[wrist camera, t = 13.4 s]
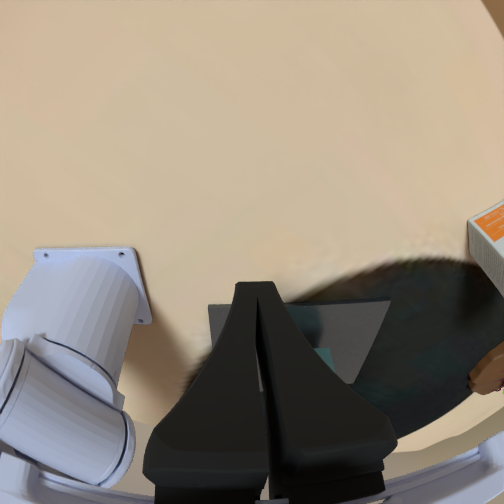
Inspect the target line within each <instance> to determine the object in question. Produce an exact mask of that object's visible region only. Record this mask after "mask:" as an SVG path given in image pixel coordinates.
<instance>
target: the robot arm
mask: <svg viewBox="0 0 504 504" xmlns="http://www.w3.org/2000/svg"><path fill="white" fill-rule="evenodd" d="M120 252H122V253H124V254H125V255H122V254H121V253H120ZM47 254H48V255H47ZM33 256H34V259H35V261H36V262H35V263H34V265H33V266H32V268H31V269H30V271H29V272H28V274H27V275H26V277H25V278H24V280H23V281H22V283H21V284H20V286H19V287H18V289H17V291H16V292H15V294H14V295H13V297H12V299H11V300H10V302H9V303H8V305H7V307H6V309H5V311H4V314H3V318H2V324H1V339H2V343H1V344H0V504H367V503H371V502H375V501H378V500H382V499H385V500H384V501H383V503H379V504H485V503H487V502H488V501H490V500H491V499H493V498H494V497H496V496H497V495H498V494H500V493H501V492H503V491H504V430H503V431H501V432H499V433H497V434H495V435H493V436H491V437H489V438H488V439H486V440H485V441H484V442H482V443H481V444H480V445H479V446H478V447H476V448H473V449H471V450H469V451H467V452H465V453H462V454H460V455H458V456H455V457H453V458H450V459H448V460H445V461H443V462H440V463H438V464H435V465H432V466H430V467H427V468H424V469H421V470H418V471H415V472H412V473H409V474H406V475H403V476H399V477H396V478H393V479H389V480H385V481H384V480H383V475H382V471H383V470H384V463H383V459H384V458H385V457H386V456H388V455H389V454H390V453H391V452H392V451H393V450H394V449H395V448H396V447H397V444H398V442H397V438H396V435H395V432H394V429H393V427H392V425H391V423H390V420H389V418H388V416H386V415H385V414H383V413H382V412H381V411H379V410H378V409H376V408H375V407H374V406H372V405H371V404H370V403H368V402H367V401H366V400H364V399H363V398H362V397H361V396H360V395H358V394H357V393H356V392H355V391H354V390H352V389H351V388H350V387H349V386H348V385H347V384H346V383H345V382H344V381H343V380H342V379H341V378H340V377H339V376H338V375H337V374H336V373H334V371H333V370H332V369H331V368H330V367H329V366H328V365H327V364H326V363H325V362H324V361H323V359H322V358H321V357H320V356H319V355H318V354H317V352H316V351H315V350H314V349H313V347H312V346H311V345H310V343H309V342H308V341H307V339H306V338H305V337H304V335H303V334H302V332H301V331H300V329H299V328H298V326H297V325H296V323H295V322H294V320H293V318H292V317H291V315H290V314H289V312H288V310H287V308H286V307H285V305H284V303H283V301H282V299H281V297H280V295H279V293H278V291H277V288H276V286H275V284H274V283H273V282H272V281H260V282H238V283H236V284H235V293H234V297H233V301H232V305H231V308H230V311H229V314H228V316H227V319H226V322H225V324H224V327H223V329H222V331H221V333H220V335H219V338H218V340H217V342H216V344H215V346H214V348H213V350H212V352H211V354H210V355H209V357H208V359H207V361H206V362H205V364H204V366H203V367H202V369H201V370H200V372H199V374H198V375H197V377H196V378H195V380H194V381H193V383H192V384H191V385H190V387H189V388H188V389H187V391H186V392H185V393H184V395H183V396H182V397H181V398H180V400H179V401H178V402H177V404H176V405H175V406H174V407H173V408H172V409H171V411H170V412H169V413H168V414H167V415H166V416H165V417H164V418H163V419H162V420H161V421H160V422H159V424H158V425H157V426H156V427H155V428H154V429H153V431H152V434H151V436H150V438H149V441H148V443H147V446H146V450H145V454H144V461H143V472H142V473H143V474H144V476H145V477H146V478H147V479H149V480H150V481H151V482H152V483H154V484H155V496H147V495H140V494H134V493H128V492H123V491H117V490H112V489H109V488H111V487H112V486H113V485H115V484H116V483H117V482H118V481H119V480H120V479H121V478H122V477H123V476H124V475H125V473H126V472H127V471H128V469H129V467H130V465H131V463H132V460H133V457H134V453H135V446H136V436H135V428H134V424H133V421H132V419H131V417H130V416H129V415H128V414H127V413H126V412H125V411H123V410H122V409H123V404H124V399H125V396H124V395H122V394H121V393H120V392H119V391H118V390H117V386H118V381H119V377H120V373H121V369H122V365H123V361H124V357H125V353H126V349H127V345H128V341H129V337H130V334H131V330H132V326H133V324H144V325H148V324H151V323H152V315H151V312H150V308H149V304H148V301H147V297H146V293H145V289H144V285H143V282H142V278H141V274H140V269H139V265H138V261H137V257H136V252H135V250H134V249H133V248H131V247H86V248H39V249H35V250H34V252H33ZM141 319H142V320H141ZM256 352H257V358H256ZM257 359H258V365H259V371H260V377H261V383H262V389H263V395H264V404H265V420H266V435H265V428H264V421H263V413H262V405H261V396H260V387H259V378H258V368H257ZM266 437H267V442H266ZM267 477H268V478H269V500H260V494H261V491H262V489H264V486H265V483H266V480H267ZM256 500H258V501H256Z"/></svg>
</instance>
